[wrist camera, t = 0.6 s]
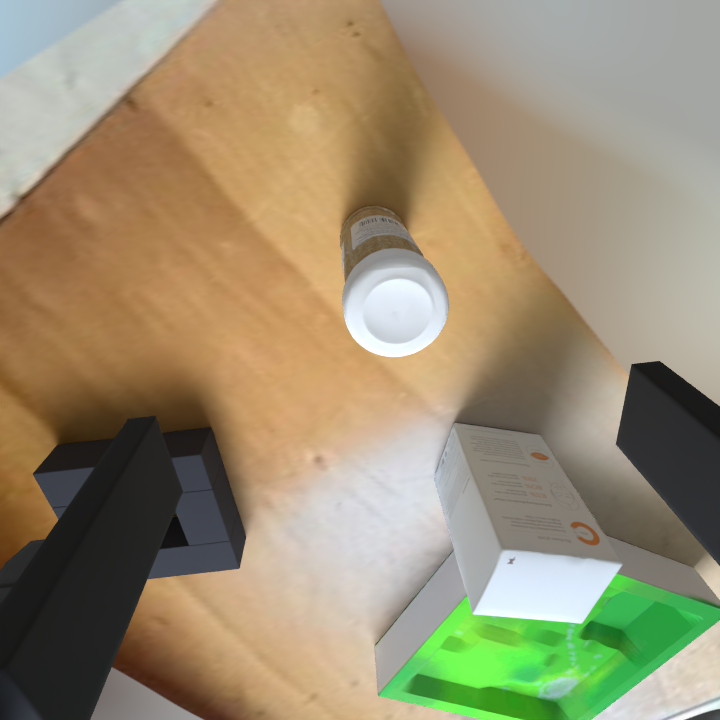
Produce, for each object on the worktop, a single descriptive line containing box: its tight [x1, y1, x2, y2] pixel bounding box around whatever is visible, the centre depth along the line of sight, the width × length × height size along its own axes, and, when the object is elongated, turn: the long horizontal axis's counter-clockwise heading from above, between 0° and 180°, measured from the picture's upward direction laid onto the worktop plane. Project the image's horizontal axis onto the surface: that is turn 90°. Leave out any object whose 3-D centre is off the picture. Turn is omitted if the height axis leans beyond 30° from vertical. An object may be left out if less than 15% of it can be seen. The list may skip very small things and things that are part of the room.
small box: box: [434, 423, 623, 624], centre depth 35 cm, size 8×6×13 cm
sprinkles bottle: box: [340, 206, 449, 357], centre depth 26 cm, size 5×5×14 cm
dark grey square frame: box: [33, 427, 246, 579], centre depth 40 cm, size 13×13×4 cm
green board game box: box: [374, 535, 720, 720], centre depth 49 cm, size 25×25×5 cm
